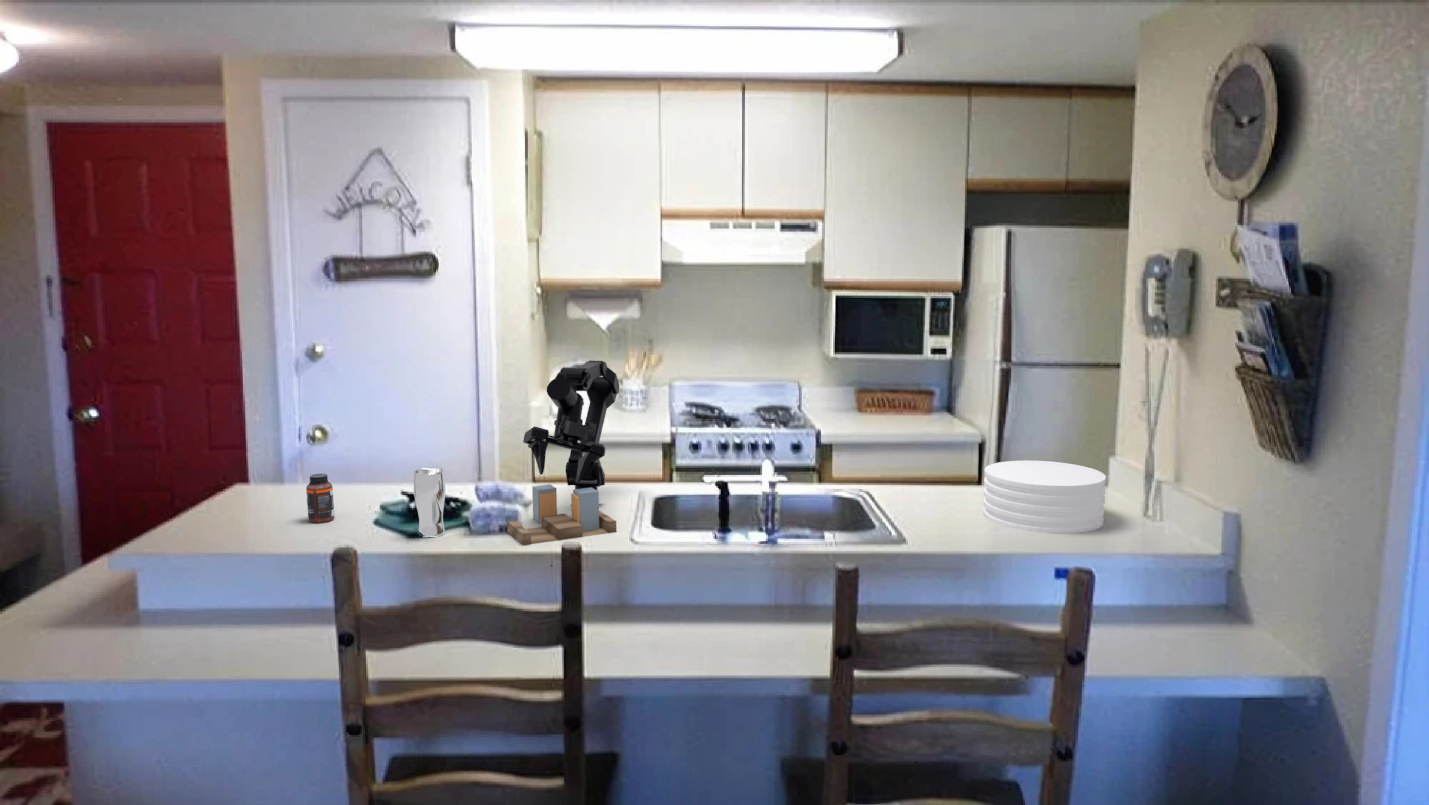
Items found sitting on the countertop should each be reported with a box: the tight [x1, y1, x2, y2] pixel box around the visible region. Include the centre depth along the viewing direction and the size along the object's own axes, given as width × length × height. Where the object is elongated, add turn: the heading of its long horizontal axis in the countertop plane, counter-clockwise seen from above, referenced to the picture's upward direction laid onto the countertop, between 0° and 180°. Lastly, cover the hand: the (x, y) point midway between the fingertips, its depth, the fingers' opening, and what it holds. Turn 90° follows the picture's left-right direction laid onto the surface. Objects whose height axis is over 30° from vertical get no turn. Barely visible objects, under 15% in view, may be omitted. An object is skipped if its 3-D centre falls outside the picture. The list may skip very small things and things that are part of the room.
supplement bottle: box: [305, 473, 335, 524], centre depth 237 cm, size 6×6×11 cm
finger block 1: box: [531, 483, 558, 524], centre depth 233 cm, size 4×5×9 cm
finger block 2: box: [570, 488, 600, 532], centre depth 226 cm, size 4×5×9 cm
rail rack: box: [506, 510, 617, 546], centre depth 224 cm, size 12×22×4 cm, turn 118°
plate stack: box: [982, 460, 1107, 534], centre depth 238 cm, size 28×28×12 cm
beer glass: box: [413, 467, 446, 537], centre depth 225 cm, size 7×7×15 cm
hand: (559, 478), depth 227 cm, fingers open, 9 cm apart
